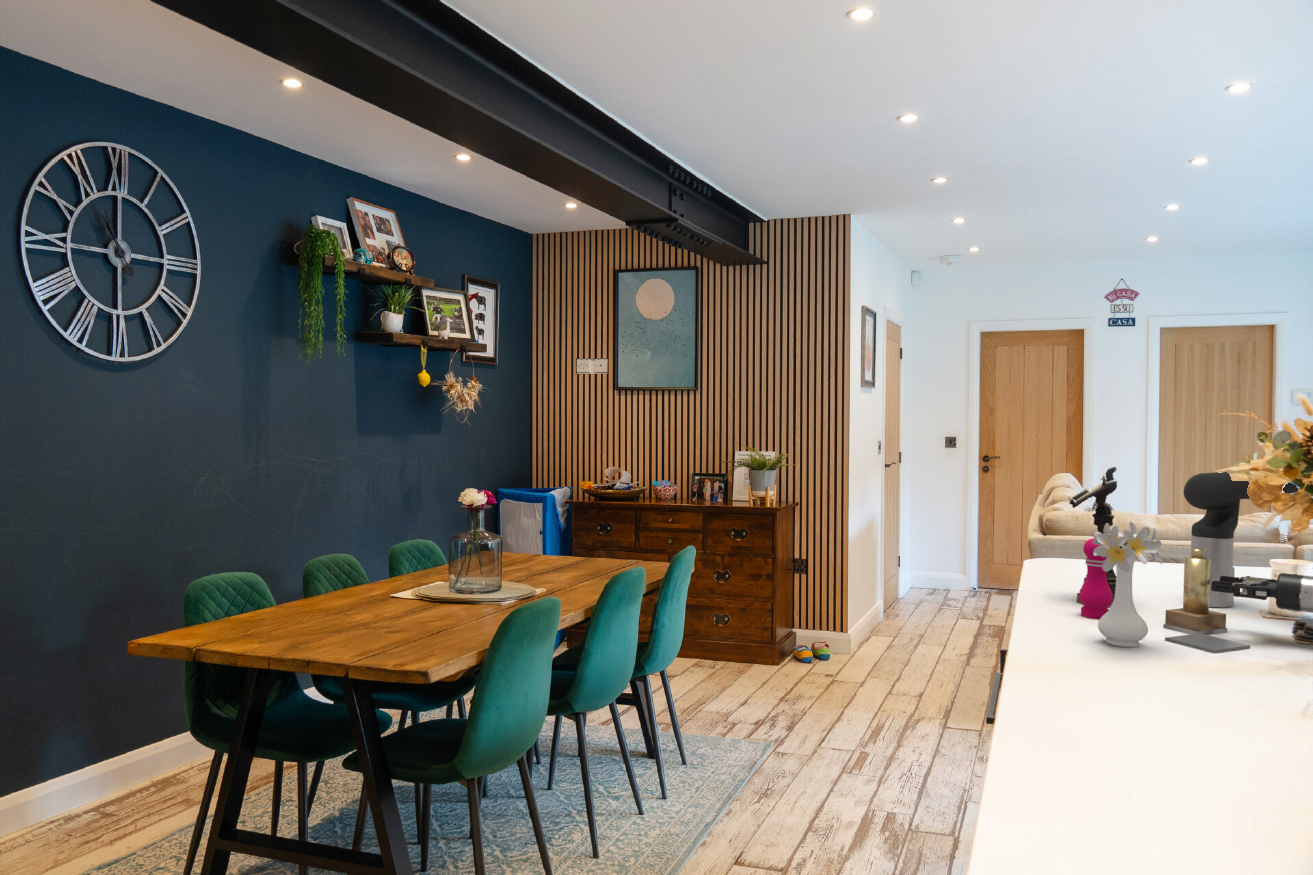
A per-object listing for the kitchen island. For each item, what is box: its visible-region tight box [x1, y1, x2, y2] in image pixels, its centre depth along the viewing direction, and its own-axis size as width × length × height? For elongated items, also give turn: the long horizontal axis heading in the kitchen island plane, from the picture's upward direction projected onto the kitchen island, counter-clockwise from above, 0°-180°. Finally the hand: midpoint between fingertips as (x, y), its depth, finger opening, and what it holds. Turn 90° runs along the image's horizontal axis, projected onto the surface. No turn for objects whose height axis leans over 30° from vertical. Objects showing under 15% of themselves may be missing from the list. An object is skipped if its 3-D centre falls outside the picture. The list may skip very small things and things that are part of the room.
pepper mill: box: [1079, 531, 1113, 620], centre depth 221 cm, size 7×7×20 cm
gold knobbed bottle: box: [1182, 548, 1211, 614], centre depth 208 cm, size 5×5×14 cm
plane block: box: [1162, 607, 1228, 635], centre depth 209 cm, size 10×8×4 cm
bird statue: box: [1067, 466, 1118, 609], centre depth 237 cm, size 17×13×35 cm
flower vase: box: [1093, 521, 1163, 648], centre depth 194 cm, size 13×18×25 cm
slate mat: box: [1164, 633, 1251, 654], centre depth 196 cm, size 11×11×1 cm
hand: (1215, 582), depth 206 cm, fingers open, 8 cm apart
